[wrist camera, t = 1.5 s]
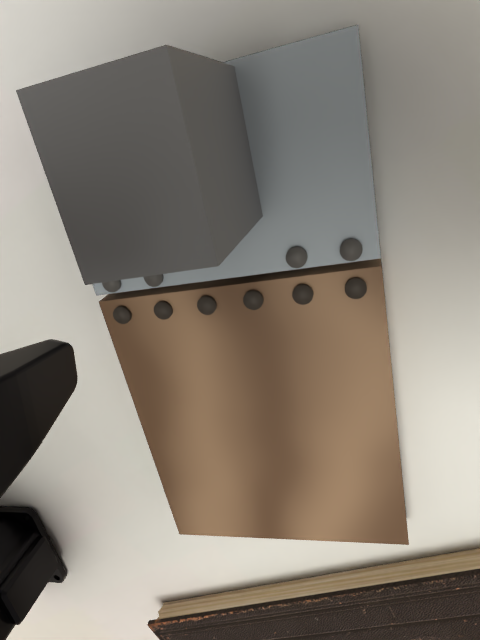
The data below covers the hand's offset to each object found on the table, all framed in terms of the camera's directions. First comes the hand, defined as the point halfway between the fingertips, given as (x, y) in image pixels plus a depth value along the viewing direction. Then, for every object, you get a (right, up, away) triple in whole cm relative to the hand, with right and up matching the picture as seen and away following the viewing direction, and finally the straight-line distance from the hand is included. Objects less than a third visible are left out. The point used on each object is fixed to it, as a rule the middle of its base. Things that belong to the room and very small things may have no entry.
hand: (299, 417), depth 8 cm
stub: (-2, +7, +10) cm, 13 cm away
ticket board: (0, -3, +14) cm, 15 cm away
